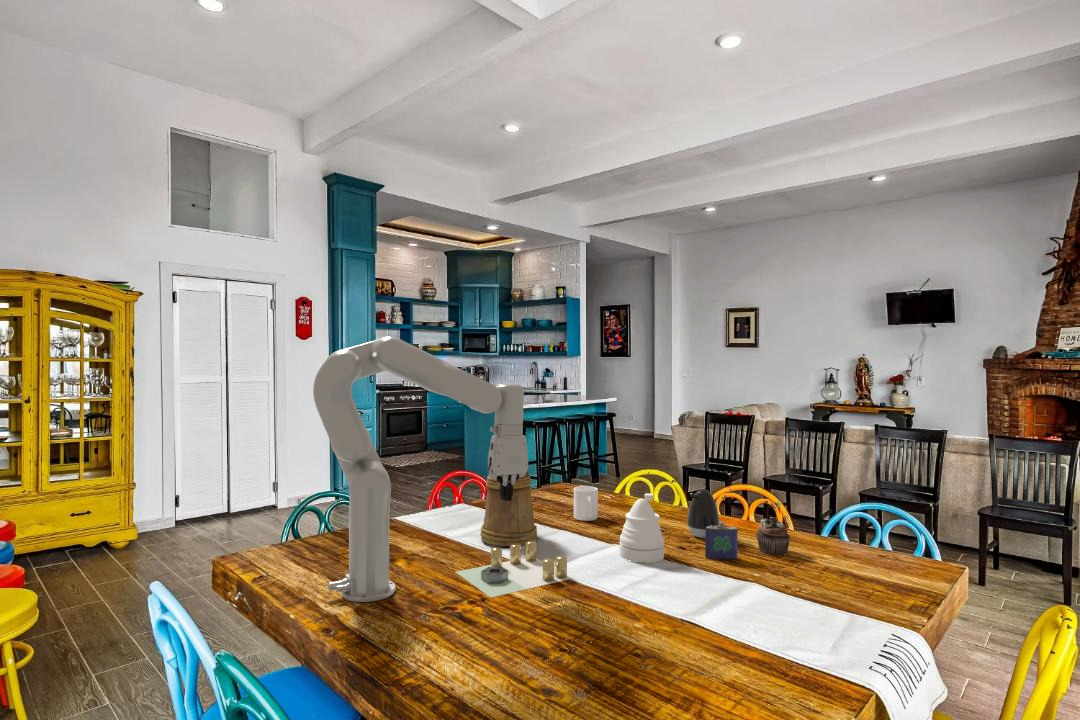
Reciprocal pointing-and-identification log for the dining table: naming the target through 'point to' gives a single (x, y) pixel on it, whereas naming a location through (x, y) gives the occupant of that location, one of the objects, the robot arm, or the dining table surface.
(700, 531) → the penguin figurine
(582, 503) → the mug
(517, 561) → the spacers
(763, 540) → the cupcake
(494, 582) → the nut
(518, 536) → the tankard
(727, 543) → the flask
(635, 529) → the honey pot
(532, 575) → the mat
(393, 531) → the dining table surface
